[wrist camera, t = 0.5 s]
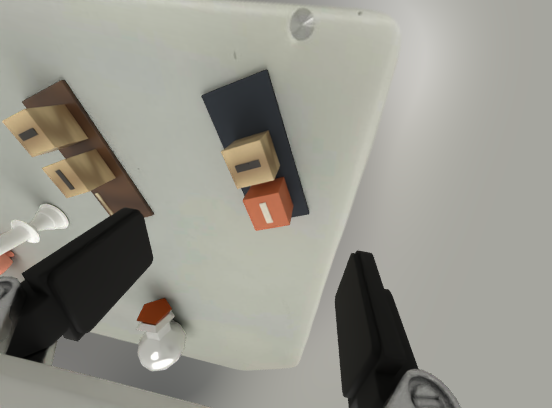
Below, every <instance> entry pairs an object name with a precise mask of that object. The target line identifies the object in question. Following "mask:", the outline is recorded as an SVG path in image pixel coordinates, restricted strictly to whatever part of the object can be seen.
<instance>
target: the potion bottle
mask: <svg viewBox="0 0 552 408" xmlns="http://www.w3.org/2000/svg"><path fill="white" fill-rule="evenodd" d="M171 310H172V308H171V306H170V305H169V303H168V302H167V300H166V299H165V298H163V299H160V300H157V301H153V302H150V303H147V304H144V306H143V308H142V310H141V312H140V314H139V316H138V319H137V321H140V322H139V324H138V326H137V329H136V330H140V331H146V332H145V333H144V334H143V336H142V337H141V338H140V342H139V347H138V353H137V354H138V357H139V359H140V362H141V364H142V365H143V366H144V367H146V368H147V369H149V370H150V371H158V370H166V369H167V368H168V367H170V366H171V365H172V364H174V363H175V362H176V361H178V360H179V358H180V356H181V354H182V352H183V350H184V347H185V341H186V333H185V332H184V330H183V329H182V327H181V325H180V324H179V323H177V322H175V321H174V320H172V319H173V318H174V317H175V316H174V314H173V313H172V311H171Z"/></svg>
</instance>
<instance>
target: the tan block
mask: <svg viewBox="0 0 552 408" xmlns="http://www.w3.org/2000/svg"><path fill="white" fill-rule="evenodd" d="M221 153H222V155H223V157H224V160H225V162H226V164H227V166H228V169H229V171H230V173H231V175H232V178H233V180H234V182H235V185H236V187H237V189H239V188H243V187H248V186H252V185H256V184H260V183H264V182H268V181H273V180H274V179H275V177H276V174H277V172H278V170H279V167H280V163H279V160H278V157H277V154H276V151H275V148H274V145H273V142H272V139H271V136H270V133H269V130H268V131H264V132H261V133H258V134H255V135H252V136H248V137H245V138H242V139H239V140H236V141H234V142H233V143H231V144H230V145H229V146H228V147H226V148H225V149H224V150H222V151H221Z"/></svg>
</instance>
